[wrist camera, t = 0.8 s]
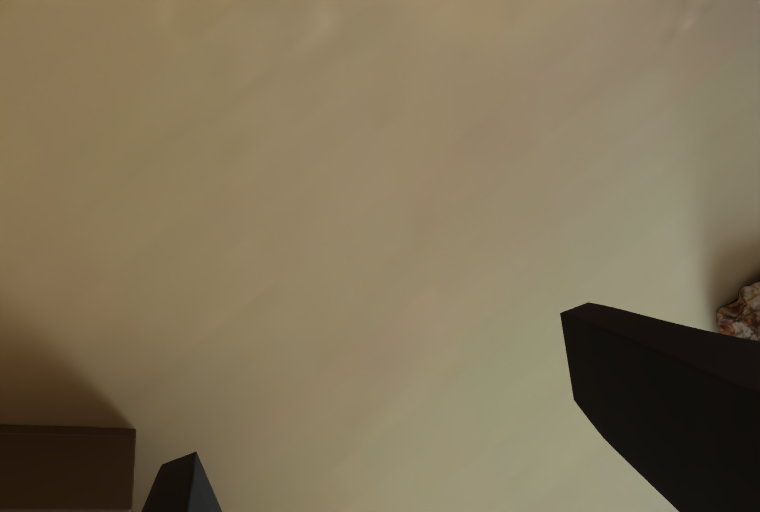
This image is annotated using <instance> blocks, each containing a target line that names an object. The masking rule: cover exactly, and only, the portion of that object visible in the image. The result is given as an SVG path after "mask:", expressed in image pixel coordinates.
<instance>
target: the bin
mask: <svg viewBox="0 0 760 512" xmlns="http://www.w3.org/2000/svg"><path fill="white" fill-rule="evenodd" d="M135 443H136V430H135V429H115V428H83V427H51V426H19V425H0V512H132V505H133V484H134V464H135Z"/></svg>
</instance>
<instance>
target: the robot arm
mask: <svg viewBox="0 0 760 512" xmlns="http://www.w3.org/2000/svg"><path fill="white" fill-rule="evenodd" d="M560 315H561V321H562V327H563V334H564V340H565V346H566V353H567V359H568V365H569V372H570V378H571V384H572V390H573V397H574V400H575V402H576V403H577V404H578V406H579V407H580V408H581V410H582V411H583V412H584V414H585V415H586V416H587V418H588V419H589V420H590V422H591V423H592V424H593V425H594V427H595V428H596V429H597V430H598V432H599V433H600V434H601V435H602V436H603V438H604V439H605V440H606V441H607V442H608V443H609V444H610V445H611V446H612V447H613V448H614V449H615V450H616V451H617V452H618V453H619V454H620V455H621V456H622V457H623V458H624V459H625V460H626V461H627V462H628V463H629V464H630V465H631V466H632V467H633V468H634V469H636V470H637V471H638V472H639V473H640V474H641V475H642V476H643V477H644V478H645V479H646V480H647V481H648V482H649V483H650V484H651V485H652V486H653V487H654V488H655V489H656V490H657V491H658V492H659V493H660V494H662V495H663V496H664V497H665V498H666V499H667V500H668V501H669V502H670V503H671V504H672V505H673V506H674V507H675V508H676V509H677V510H678V511H679V512H760V341H757V340H751V339H745V338H740V337H735V336H730V335H725V334H720V333H714V332H710V331H705V330H701V329H696V328H692V327H688V326H684V325H679V324H675V323H671V322H667V321H663V320H659V319H656V318H652V317H648V316H644V315H640V314H636V313H632V312H629V311H625V310H621V309H617V308H613V307H608V306H604V305H599V304H594V303H586V304H583V305H580V306H578V307H575V308H573V309H570V310H567V311H565V312H562V313H560ZM142 512H222V510H221V508H220V506H219V503H218V501H217V499H216V496H215V494H214V492H213V489H212V487H211V485H210V482H209V480H208V478H207V476H206V473H205V471H204V469H203V466H202V464H201V462H200V459H199V457H198V455H197V452H194V453H191V454H189V455H186V456H183V457H181V458H178V459H175V460H173V461H170V462H167V463H165V464H162V466H161V468H160V470H159V471H158V474H157V476H156V478H155V481H154V483H153V486H152V488H151V490H150V493H149V495H148V498H147V500H146V502H145V505H144V507H143V509H142Z"/></svg>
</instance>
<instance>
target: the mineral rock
mask: <svg viewBox="0 0 760 512" xmlns="http://www.w3.org/2000/svg"><path fill="white" fill-rule="evenodd" d="M717 324H718V327H719V329H720V332H721V333H722V334H725V335H730V336H735V337H740V338H745V339H751V340H757V341H760V282H758V283H754V284H753V285H751V286H750V287H748V286H744V287H743V288H742V289H739V298H738V301H736V302H734V303H732V304H729V305H726V306H723V307H721V308H720V309H719V310H717Z"/></svg>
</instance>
